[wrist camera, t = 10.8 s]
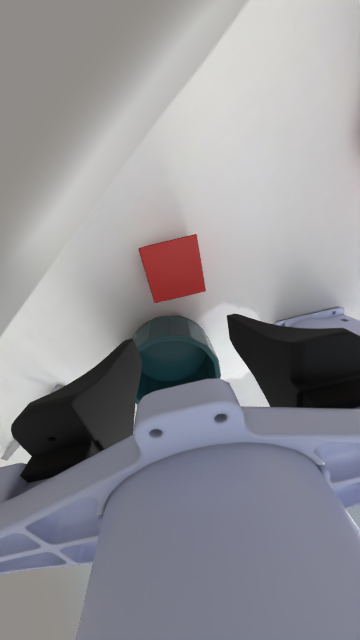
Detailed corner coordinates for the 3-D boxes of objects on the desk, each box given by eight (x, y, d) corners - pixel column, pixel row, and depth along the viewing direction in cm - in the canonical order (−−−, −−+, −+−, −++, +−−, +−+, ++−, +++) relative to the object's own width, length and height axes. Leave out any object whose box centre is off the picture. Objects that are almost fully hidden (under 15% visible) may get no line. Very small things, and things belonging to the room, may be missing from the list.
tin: (202, 306, 22) (213, 324, 17) (214, 372, 27) (225, 402, 22) (118, 326, 23) (105, 350, 18) (144, 388, 27) (139, 421, 22)
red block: (188, 236, 19) (196, 234, 14) (196, 281, 21) (205, 291, 16) (144, 247, 19) (138, 248, 14) (156, 290, 21) (154, 303, 17)
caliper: (58, 381, 25) (27, 421, 20) (66, 384, 26) (37, 425, 20) (4, 453, 31) (-33, 501, 25) (11, 455, 31) (-24, 503, 25)
